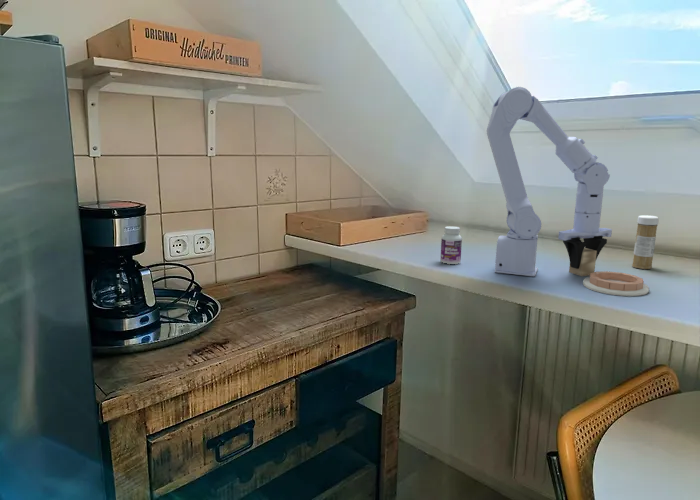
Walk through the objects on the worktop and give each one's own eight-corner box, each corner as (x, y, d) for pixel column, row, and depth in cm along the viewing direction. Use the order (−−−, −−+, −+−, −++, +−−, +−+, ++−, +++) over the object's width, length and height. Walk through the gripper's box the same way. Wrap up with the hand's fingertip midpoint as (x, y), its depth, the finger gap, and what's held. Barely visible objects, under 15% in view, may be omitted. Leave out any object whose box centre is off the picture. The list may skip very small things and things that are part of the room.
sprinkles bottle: (638, 264, 130) (644, 214, 127) (655, 268, 126) (662, 216, 123) (627, 266, 128) (634, 215, 125) (645, 270, 124) (652, 217, 121)
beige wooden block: (581, 276, 119) (583, 252, 118) (568, 272, 123) (571, 248, 121) (594, 274, 120) (596, 250, 119) (581, 270, 124) (584, 247, 123)
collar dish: (582, 291, 107) (583, 281, 106) (583, 276, 118) (584, 267, 118) (651, 299, 101) (653, 288, 101) (645, 283, 113) (647, 273, 112)
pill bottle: (444, 265, 129) (445, 229, 127) (437, 260, 134) (439, 226, 132) (463, 264, 130) (465, 228, 128) (456, 260, 135) (458, 225, 133)
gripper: (576, 216, 112) (570, 273, 115) (624, 213, 117) (618, 268, 120) (554, 212, 119) (549, 266, 121) (600, 209, 123) (595, 261, 126)
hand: (582, 267), depth 121 cm, fingers closed on beige wooden block, 4 cm apart
